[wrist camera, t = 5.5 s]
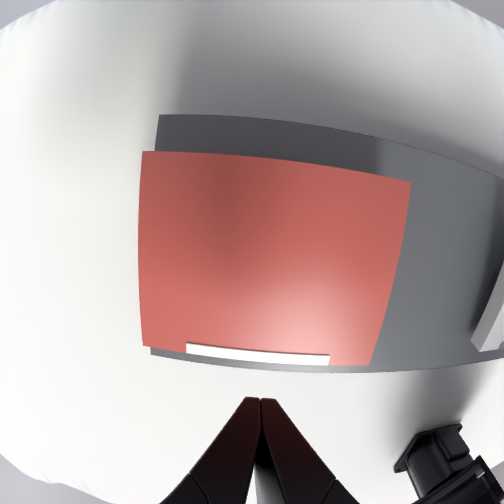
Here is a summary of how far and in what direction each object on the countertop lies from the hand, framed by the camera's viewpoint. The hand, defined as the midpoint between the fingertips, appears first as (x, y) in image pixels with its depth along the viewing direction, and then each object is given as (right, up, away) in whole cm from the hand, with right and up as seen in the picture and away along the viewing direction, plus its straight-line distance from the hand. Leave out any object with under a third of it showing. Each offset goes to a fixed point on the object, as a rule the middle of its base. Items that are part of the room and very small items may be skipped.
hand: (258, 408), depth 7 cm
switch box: (+10, +4, +10) cm, 14 cm away
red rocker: (0, +4, +4) cm, 5 cm away
